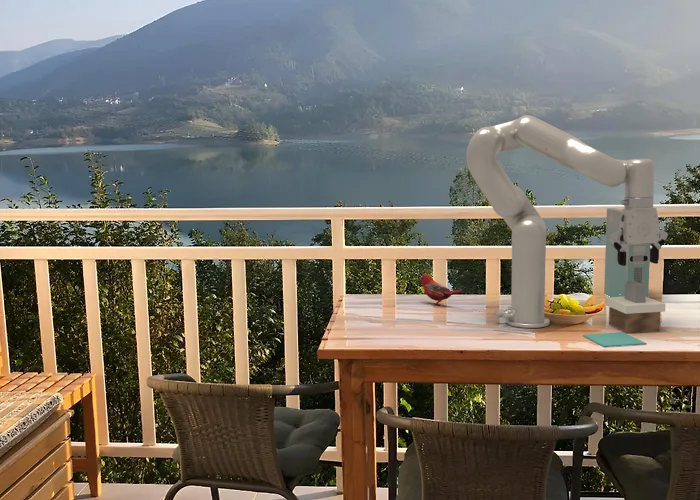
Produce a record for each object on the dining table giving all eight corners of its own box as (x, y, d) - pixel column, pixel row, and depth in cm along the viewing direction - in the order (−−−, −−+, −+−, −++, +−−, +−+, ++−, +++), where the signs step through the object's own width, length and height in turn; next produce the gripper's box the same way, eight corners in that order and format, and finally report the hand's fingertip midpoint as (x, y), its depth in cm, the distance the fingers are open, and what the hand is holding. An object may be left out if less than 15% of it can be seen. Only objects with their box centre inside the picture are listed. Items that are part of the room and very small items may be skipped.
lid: (625, 313, 216) (626, 288, 215) (604, 304, 227) (605, 280, 226) (665, 311, 218) (666, 286, 217) (642, 302, 229) (643, 278, 228)
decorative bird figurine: (422, 301, 263) (422, 272, 261) (465, 309, 251) (465, 278, 249) (416, 303, 261) (416, 273, 259) (460, 310, 249) (460, 279, 247)
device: (648, 303, 255) (652, 212, 250) (625, 304, 254) (629, 212, 249) (625, 293, 271) (628, 207, 266) (603, 294, 270) (606, 208, 266)
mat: (603, 347, 204) (603, 345, 204) (582, 335, 215) (582, 334, 215) (646, 344, 206) (646, 343, 206) (623, 333, 217) (623, 332, 217)
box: (626, 333, 217) (627, 308, 216) (608, 324, 227) (609, 301, 226) (659, 331, 219) (660, 306, 218) (640, 323, 229) (641, 299, 228)
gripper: (616, 206, 213) (616, 268, 215) (675, 202, 216) (673, 264, 218) (603, 204, 220) (603, 264, 223) (660, 201, 223) (658, 260, 225)
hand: (638, 264), depth 220 cm, fingers open, 9 cm apart
